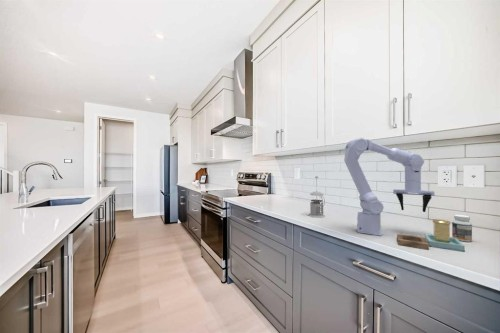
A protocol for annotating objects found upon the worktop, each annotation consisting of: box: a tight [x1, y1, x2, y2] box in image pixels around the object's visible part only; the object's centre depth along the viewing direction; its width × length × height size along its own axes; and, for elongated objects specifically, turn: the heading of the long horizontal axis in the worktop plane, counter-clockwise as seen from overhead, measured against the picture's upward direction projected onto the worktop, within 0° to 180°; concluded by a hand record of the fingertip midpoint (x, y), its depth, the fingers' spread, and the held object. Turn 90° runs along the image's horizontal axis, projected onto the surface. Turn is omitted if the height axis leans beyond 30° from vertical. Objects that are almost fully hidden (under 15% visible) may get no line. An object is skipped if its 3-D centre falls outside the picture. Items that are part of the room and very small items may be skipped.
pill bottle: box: [451, 214, 473, 243], centre depth 85 cm, size 6×6×10 cm
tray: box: [424, 233, 466, 252], centre depth 79 cm, size 10×10×2 cm
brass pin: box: [432, 218, 451, 243], centre depth 79 cm, size 5×5×9 cm
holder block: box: [396, 233, 430, 251], centre depth 80 cm, size 9×9×2 cm
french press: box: [308, 176, 326, 219], centre depth 129 cm, size 10×12×25 cm
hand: (413, 210), depth 93 cm, fingers open, 7 cm apart
